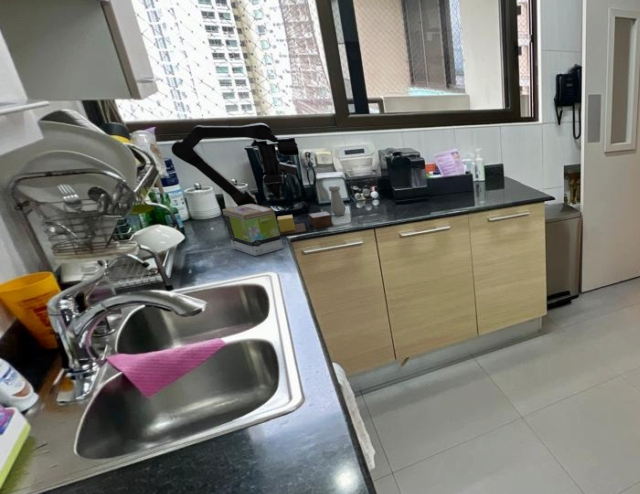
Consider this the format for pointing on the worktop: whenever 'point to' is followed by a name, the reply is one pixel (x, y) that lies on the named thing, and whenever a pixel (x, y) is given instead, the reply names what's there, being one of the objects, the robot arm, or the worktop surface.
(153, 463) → the worktop surface
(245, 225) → the tea box
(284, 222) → the yellow block
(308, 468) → the worktop surface
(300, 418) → the worktop surface
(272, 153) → the robot arm
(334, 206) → the salt shaker
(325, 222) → the walnut block
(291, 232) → the coaster
